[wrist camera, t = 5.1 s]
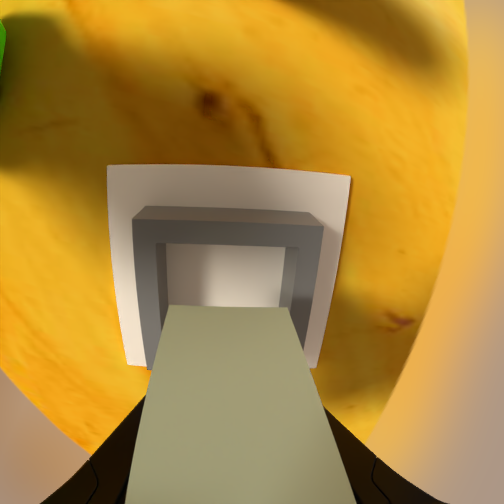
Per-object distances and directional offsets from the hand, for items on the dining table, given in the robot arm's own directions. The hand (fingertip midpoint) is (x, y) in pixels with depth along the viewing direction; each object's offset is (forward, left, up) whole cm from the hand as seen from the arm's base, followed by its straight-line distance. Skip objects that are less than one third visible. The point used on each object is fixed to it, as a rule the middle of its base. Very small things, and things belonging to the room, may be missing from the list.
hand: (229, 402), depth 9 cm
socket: (0, 0, -9) cm, 9 cm away
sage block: (0, 0, -3) cm, 2 cm away
